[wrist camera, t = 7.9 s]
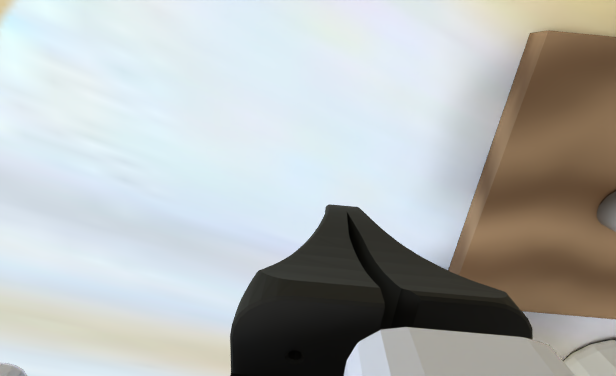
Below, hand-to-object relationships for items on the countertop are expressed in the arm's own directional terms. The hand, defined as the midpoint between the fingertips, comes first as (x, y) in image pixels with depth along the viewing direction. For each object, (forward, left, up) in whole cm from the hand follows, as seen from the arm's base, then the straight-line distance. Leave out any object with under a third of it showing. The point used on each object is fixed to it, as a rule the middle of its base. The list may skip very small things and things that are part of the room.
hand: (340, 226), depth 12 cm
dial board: (-1, -20, -9) cm, 22 cm away
